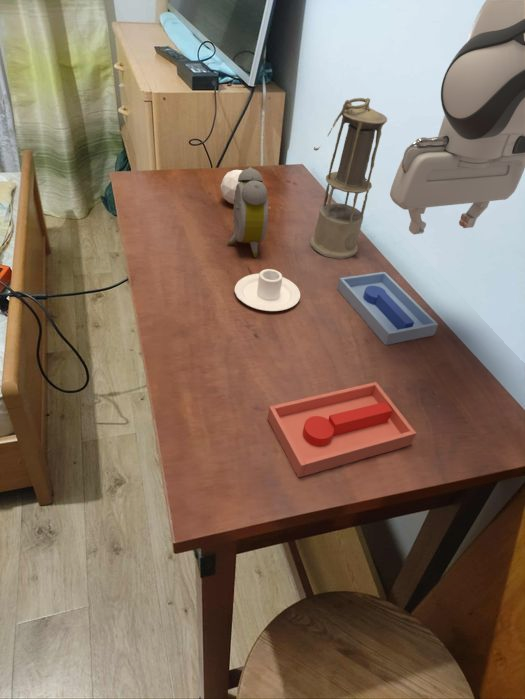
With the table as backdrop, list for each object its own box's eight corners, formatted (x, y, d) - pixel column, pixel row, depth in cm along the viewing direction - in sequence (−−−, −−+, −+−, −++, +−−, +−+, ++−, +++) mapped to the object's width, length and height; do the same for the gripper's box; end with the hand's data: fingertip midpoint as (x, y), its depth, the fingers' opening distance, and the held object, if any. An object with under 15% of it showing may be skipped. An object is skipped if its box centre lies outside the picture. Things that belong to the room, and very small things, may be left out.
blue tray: (433, 335, 89) (438, 324, 88) (385, 345, 86) (389, 333, 84) (381, 282, 101) (384, 271, 99) (336, 289, 97) (339, 277, 96)
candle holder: (223, 300, 91) (224, 280, 88) (251, 270, 99) (253, 250, 96) (285, 322, 88) (288, 301, 85) (308, 289, 96) (312, 269, 94)
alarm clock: (263, 260, 103) (272, 188, 93) (230, 259, 101) (235, 187, 92) (255, 232, 111) (262, 163, 102) (224, 231, 110) (228, 162, 100)
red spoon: (377, 407, 74) (381, 395, 72) (392, 427, 71) (396, 416, 69) (297, 427, 69) (300, 415, 68) (310, 449, 66) (313, 437, 65)
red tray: (372, 393, 76) (376, 381, 75) (411, 445, 70) (416, 433, 68) (267, 418, 70) (269, 406, 69) (298, 477, 64) (301, 465, 62)
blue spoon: (415, 332, 89) (419, 321, 87) (396, 335, 87) (400, 324, 86) (377, 291, 97) (380, 280, 96) (359, 294, 96) (362, 283, 94)
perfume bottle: (216, 195, 115) (209, 180, 124) (243, 216, 119) (235, 200, 128) (237, 167, 112) (229, 154, 122) (265, 190, 116) (255, 175, 126)
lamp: (362, 259, 107) (402, 108, 88) (301, 257, 105) (329, 102, 86) (351, 235, 115) (386, 91, 95) (294, 232, 113) (318, 85, 93)
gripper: (423, 146, 63) (395, 246, 72) (545, 140, 70) (505, 232, 79) (395, 130, 67) (372, 226, 76) (512, 125, 74) (478, 214, 83)
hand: (441, 229), depth 77 cm, fingers open, 8 cm apart
